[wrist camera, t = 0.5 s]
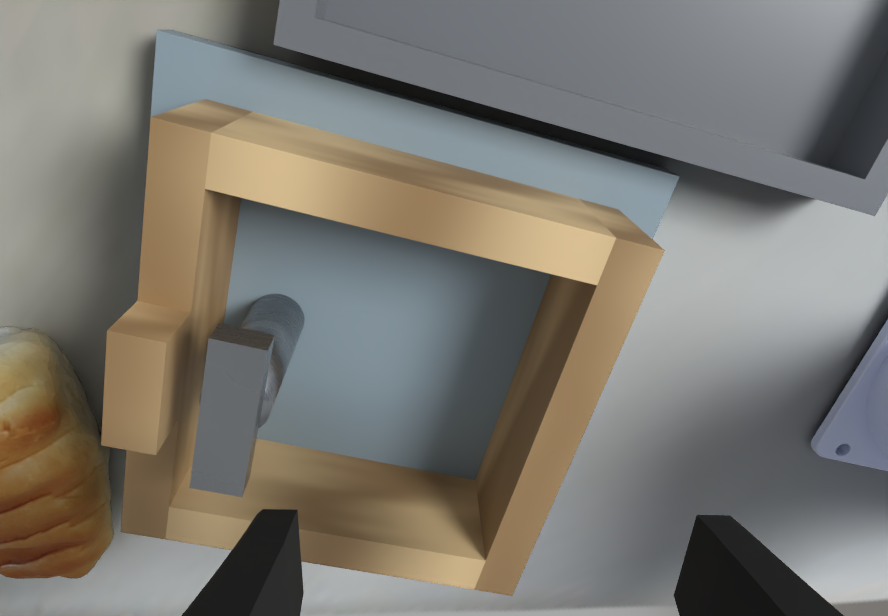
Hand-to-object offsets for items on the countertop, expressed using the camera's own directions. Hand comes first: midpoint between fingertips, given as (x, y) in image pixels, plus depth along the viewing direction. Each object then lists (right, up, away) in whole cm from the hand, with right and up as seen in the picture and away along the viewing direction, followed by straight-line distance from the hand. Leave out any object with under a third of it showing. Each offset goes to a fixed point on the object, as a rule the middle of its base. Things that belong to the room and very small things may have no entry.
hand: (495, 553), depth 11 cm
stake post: (-6, +5, +8) cm, 11 cm away
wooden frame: (-3, +4, +7) cm, 9 cm away
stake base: (-3, +4, +8) cm, 10 cm away
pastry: (-15, +1, +10) cm, 18 cm away
